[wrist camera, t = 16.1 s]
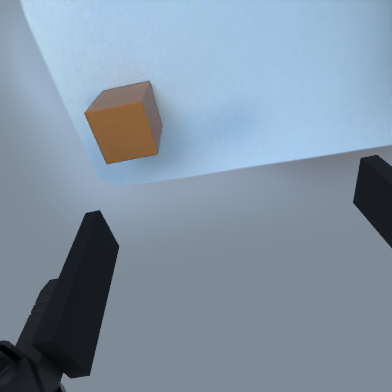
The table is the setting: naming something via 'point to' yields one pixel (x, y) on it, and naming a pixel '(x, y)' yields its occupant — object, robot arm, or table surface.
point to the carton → (126, 122)
